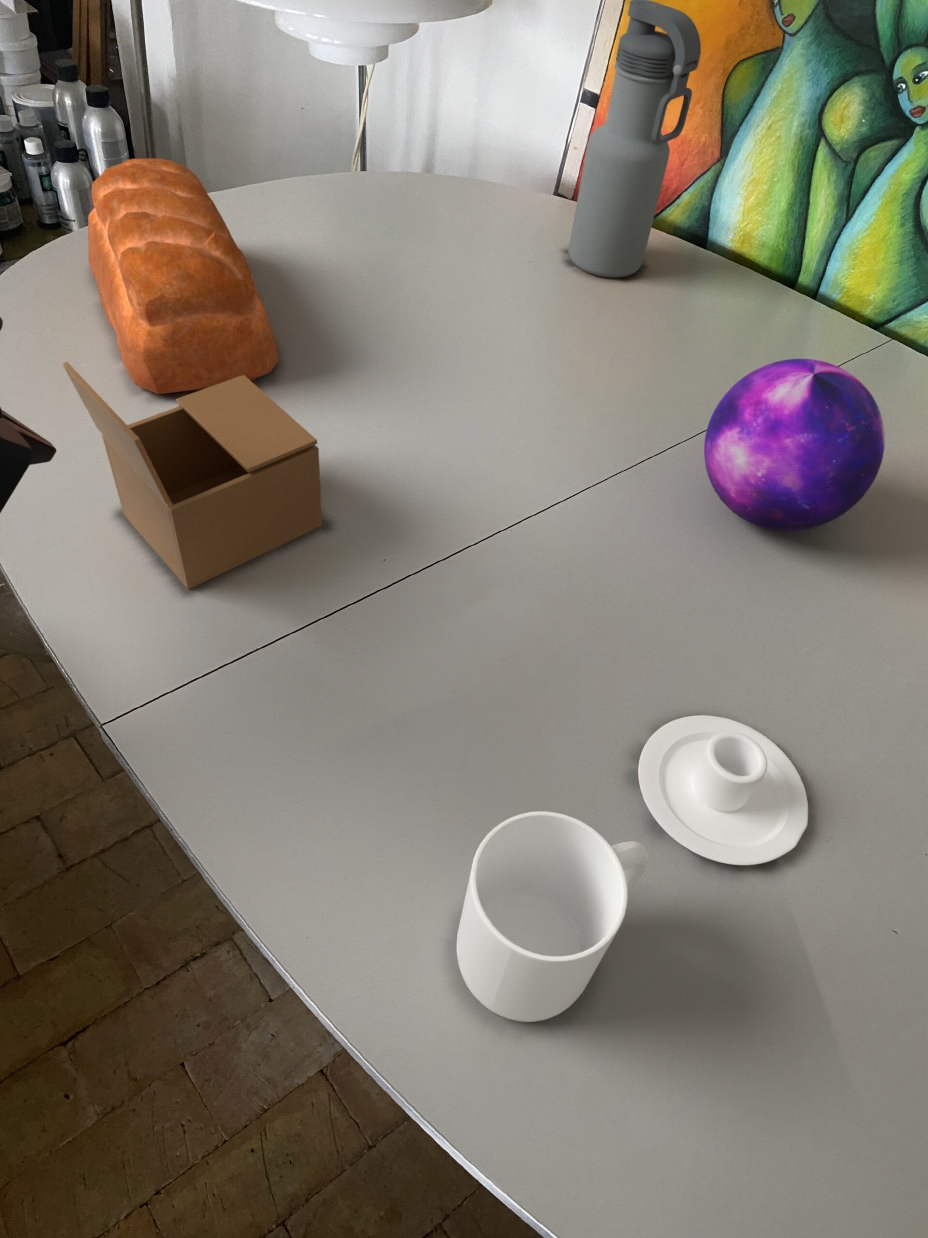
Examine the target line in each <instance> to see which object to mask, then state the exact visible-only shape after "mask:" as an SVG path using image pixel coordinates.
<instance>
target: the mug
mask: <svg viewBox="0 0 928 1238" xmlns="http://www.w3.org/2000/svg"><path fill="white" fill-rule="evenodd" d="M647 850H648V849H647V848H646V847H645V846H644V845H643V844H641V843H640V842H637V841H635V840H631V841H622V842H619V843H616V844H613V845H610V844H609V843H608V841H607V840H606V839H605V838H604V837H603V836H602V835H601V834H600V833H599V832H598V831H596V830H595V829H594V828H593V827H591V826H590V825H588V824H586V823H585V822H584V821H581V820H579V819H577V818H574V817H572V816H570V815H567V814H562V813H559V812H554V811H544V810H543V811H529V812H524V813H520V814H517V815H514V816H512V817H509V818H508V819H506V820H504V821H501V822H500V823H498V825H496V826H495V827H494V828H492V830H490V831H489V832H488V833H487V834H486V836H485V837H484V838H483V840H482V841H481V842H480V844H479V845H478V847H477V849H476V852H475V854H474V857H473V860H472V865H471V868H470V873H469V879H468V881H467V882H468V883H467V886H466V891H465V897H464V902H463V906H462V911H461V916H460V920H459V925H458V929H457V936H456V959H457V963H458V967H459V970H460V973H461V977H462V978H463V981H464V983H465V985H466V986H467V988H468V989H469V991H470V992H471V994H472V995H473V996H474V997H475V999H476V1000H478V1002H479V1003H480V1004H481V1005H483V1006H484V1007H485V1008H487V1010H490V1011H491V1012H493V1013H494V1014H496V1015H498V1016H500V1017H503V1018H504V1019H507V1020H511V1021H516V1022H524V1023H530V1022H531V1023H534V1022H540V1021H541V1022H542V1021H545V1020H548V1019H550V1018H554V1017H555V1016H558V1015H560V1014H562V1013H563V1012H564V1011H566V1010H567V1009H568V1008H570V1007H571V1006H572V1005H573V1004H574V1003H575V1002H576V1001H577V1000H578V999H579V997H580V996H581V995H582V994H583V992H584V991H585V989H586V987H587V986H588V984H589V982H590V981H591V979H592V977H593V975H594V973H595V972H596V970H597V968H598V966H599V964H600V963H601V961H602V959H603V957H604V956H605V955H606V952H607V951H608V949H609V947H610V945H611V944H612V942H613V940H614V938H615V936H616V935H617V933H618V931H619V929H620V928H621V926H622V924H623V921H624V918H625V916H626V912H627V907H628V897H629V893H628V892H629V891H630V890H631V888H633V887H634V886H635V884H636V883H637V882H638V880H639V879H640V878H641V877H642V875H643V874H644V873H645V870H646V869H647V866H648V863H649V853H648V851H647Z"/></svg>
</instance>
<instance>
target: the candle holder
mask: <svg viewBox="0 0 928 1238" xmlns="http://www.w3.org/2000/svg"><path fill="white" fill-rule="evenodd" d="M637 768H638V770H637V771H638V772H637V773H638V774H637V775H638V783H639V788H640V792H641V795H642V798H643V800H644V802H645V803H644V804H645V805H646V806H647V809H648V810H649V812H650V813H651V815H652V817H653V818H654V819H655V821H656V822H657V823H658V824H659V826H660V827H661V828H662V829H663V830H664V831H665V833H667V834H668V835H669V836H670V837H671V838H672V839H673V840H674V841H676V842H677V843H679V844H680V845H681V846H683V847H685V848H686V849H687V850H690V851H691V852H693V853H695V854H696V855H699V856H701V857H703V858H706V859H709V860H711V861H714V862H717V863H718V862H719V863H722V864H725V865H726V864H728V865H733V866H754V865H760V864H764V863H768V862H771V861H774V860H775V859H778V858H780V857H782V856H783V855H786V854H787V853H789V852H790V851H791V850H793V849H795V848H796V846H797V845H798V843H799V841H800V839H801V838H802V836H803V834H804V832H805V831H806V829H807V826H808V824H809V823H808V822H809V821H808V820H809V819H808V818H809V804H808V796H807V792H806V788H805V785H804V782H803V779H802V778H801V776H800V774H799V772H798V770H797V768H796V767H795V765H794V764H793V762H792V761H791V759H790V758H789V757H788V755H786V754H785V752H784V751H783V750H782V749H780V747H779V746H778V745H777V744H775V743H774V741H772V740H771V739H769V737H767V736H765V735H764V734H762V733H761V732H759V731H757V730H756V729H754V728H752V727H750V726H748V725H746V724H744V723H741V722H738V721H736V720H733V719H730V718H726V717H723V716H715V715H705V714H704V715H703V714H702V715H701V714H700V715H689V716H684V717H680V718H676V719H673V720H671V721H669V722H668V723H665V724H664V725H662V726H660V727H659V728H658V729H657V730H655V732H654V733H652V735H651V736H650V737H649V738H648V740H647V741H646V742H645V744H644V746H643V748H642V750H641V753H640V756H639V761H638V767H637Z"/></svg>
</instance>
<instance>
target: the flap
mask: <svg viewBox="0 0 928 1238" xmlns="http://www.w3.org/2000/svg"><path fill="white" fill-rule="evenodd" d="M61 364H62V367H63V368H64V371H65V372H66V374H67V376H68V377H69V379H70V382H71V383H72V386H73V387H74V388H75V390H76V392H77V394H78V396H79V398H80V399H81V401H82V404H83V405H84V408H85V409H86V411H87V412H88V414H89V416H90V418H91V420H92V421H93V424H94V425H95V427H96V429H97V430H98V431H99V432H100V433H101V435H102V434H103V435H104V436H105V438H106V439H107V440H108V441H109V442H110V443H111V444H112V445H113V446H114V447H115V449H116V450H117V451H118V452H119V453H120V454H121V455H122V456H123V457H124V458H125V460H126V461H127V462H128V463H129V464H130V465H131V466H132V467H133V468H134V469H135V471H136V472H137V473H138V474H139V475H140V476H141V477H142V478H143V479H144V480H145V482H146V483H147V484H148V485H149V486H150V487H151V488H152V489H153V490H154V491H155V493H156V494H157V495H158V496H159V497H160V498H161V499H162V500H163V501H164V502H165V503H166V504H168V503H170V502H171V501H170V499H169V497H168V495H167V493H166V491H165V489H164V487H163V485H162V483H161V481H160V479H159V477H158V475H157V473H156V471H155V469H154V467H153V465H152V463H151V461H150V459H149V457H148V455H147V452H146V450H145V448H144V446H143V444H142V442H141V440H140V438H139V437H138V436H137V435H136V434H135V433H134V432H133V431H132V430H131V429H130V428H129V427H128V426H127V425H128V424H127V423H126V422H124V420H123V419H122V418H121V417H120V416H119V415H118V414H117V413H116V412H115V411H114V410H113V408H111V407H110V405H109V404H108V403H107V402H106V401H105V400H104V399H103V398H102V397H101V396H100V395H99V394H98V393H97V391H95V389H94V388H93V387H92V386H91V385H90V384H89V383H88V382H87V381H86V380H85V379H84V378H83V377H82V376H81V375H80V374H79V372H77V370H75V368H74V367H73V366H72V365H71V364H70V363H69V362H68V361H65V362H64V363H61Z"/></svg>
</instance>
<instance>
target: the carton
mask: <svg viewBox="0 0 928 1238" xmlns="http://www.w3.org/2000/svg"><path fill="white" fill-rule="evenodd" d="M175 400H176V404H177V405H178V406H176V407H174V408H171V409H168V410H166V411H163V412H160V413H159V412H158V413H157V414H154V415H151V416H149V417H146V418H143V419H140V420H138V421H135V422H132V423H129V424H126V425H127V426H128V427H129V428H130V429H131V430H132V431H133V432H134V433H135V434H136V435H137V436H138V437H139V438H140V440H141V442H142V444H143V446H144V448H145V450H146V452H147V455H148V457H149V459H150V461H151V463H152V465H153V467H154V469H155V471H156V473H157V475H158V477H159V479H160V481H161V483H162V485H163V487H164V489H165V491H166V493H167V495H168V497H169V499H170V501H171V502H170V503H168V504H166V503H165V502H164V501H163V500H162V499H161V498H160V497H159V496H158V495H157V494H156V493H155V491H154V490H153V489H152V488H151V487H150V486H149V485H148V484H147V483H146V482H145V480H144V479H143V478H142V477H141V476H140V475H139V474H138V473H137V472H136V471H135V469H134V468H133V467H132V466H131V465H130V464H129V463H128V462H127V461H126V460H125V458H124V457H123V456H122V455H121V454H120V453H119V452H118V451H117V450H116V449H115V447H114V446H113V445H112V444H111V443H110V442H109V441H108V440H107V439H106V438H105V436H104V435H103V434H102V433H101V437H102V441H103V444H104V448H105V452H106V455H107V458H108V462H109V466H110V470H111V474H112V477H113V480H114V484H115V485H114V486H115V488H116V492H117V495H118V499H119V503H120V507H121V510H122V514H123V515H124V517H125V518H126V519H127V520H128V521H129V523H130V524H131V525H132V526H133V528H135V529H136V531H138V533H139V534H140V536H141V537H142V538H143V540H145V541H146V542H147V544H148V545H149V546H150V547H151V548H152V549H153V550H154V552H155V553H156V554H157V555H158V557H160V558H161V560H162V561H163V562H164V563H165V564H166V565H167V566H168V568H169V570H171V571H172V572H173V574H174V575H175V576H176V577H177V578H178V579H179V581H180V582H181V583H182V584H183V585H184V587H185V588H186V589H187V590H190V589H193V588H195V587H196V586H199V585H200V584H203V583H205V582H207V581H209V580H211V579H214V578H216V577H218V576H219V575H222V574H223V573H226V572H228V571H230V570H232V569H234V568H236V567H238V566H240V565H241V566H242V565H243V564H245V563H247V562H249V561H251V560H253V559H255V558H258V557H259V556H261V555H263V554H266V553H268V552H270V551H272V550H274V549H275V548H279V547H280V546H283V545H284V544H287V543H288V542H291V541H293V540H295V539H297V538H299V537H302V536H303V535H306V534H308V533H310V532H312V531H313V530H316V529H318V528H320V527H323V517H322V516H323V515H322V495H321V493H322V492H321V472H320V471H321V470H320V450H319V449H320V448H319V447H318V446H317V444H318V439H317V438H316V437H314V436H313V435H312V433H310V432H309V431H308V430H307V429H305V427H303V425H301V424H300V423H299V422H298V421H297V420H295V418H293V417H292V416H291V415H289V413H288V412H286V411H285V410H284V409H283V408H282V407H281V406H280V405H278V403H276V402H275V401H274V400H273V399H272V398H271V397H270V396H268V395H267V394H266V393H265V392H264V391H262V390H261V388H260V387H258V386H257V385H256V384H255V383H254V382H253V381H252V380H251V381H250V380H249V379H248V378H247V377H246V376H245V375H242V376H239V377H236V378H233V379H231V380H228V381H225V382H222V383H219V384H217V385H214V386H211V387H208V388H205V389H199V390H198V391H197V390H196V391H195V392H192V393H189V394H186V395H183V396H181V397H178V398H176V399H175Z"/></svg>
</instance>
